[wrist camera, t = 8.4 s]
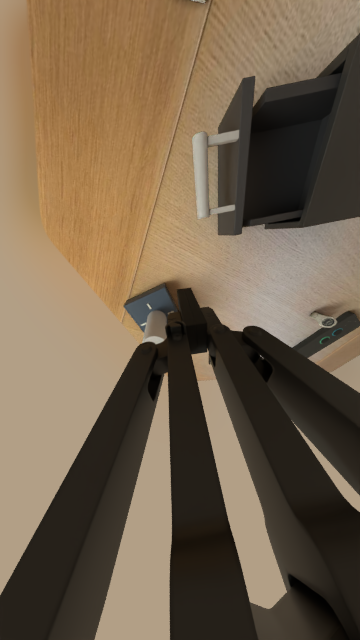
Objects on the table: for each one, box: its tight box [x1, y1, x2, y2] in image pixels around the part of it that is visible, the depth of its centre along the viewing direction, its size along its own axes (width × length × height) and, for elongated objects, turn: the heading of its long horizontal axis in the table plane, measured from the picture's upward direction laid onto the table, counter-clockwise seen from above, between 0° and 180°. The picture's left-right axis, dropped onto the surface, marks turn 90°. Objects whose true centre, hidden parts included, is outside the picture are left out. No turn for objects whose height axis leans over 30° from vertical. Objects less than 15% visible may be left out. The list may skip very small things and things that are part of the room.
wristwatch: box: [310, 312, 337, 328], centre depth 37 cm, size 4×6×5 cm, turn 70°
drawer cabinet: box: [265, 33, 360, 229], centre depth 18 cm, size 16×14×9 cm
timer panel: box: [124, 283, 179, 332], centre depth 32 cm, size 12×10×3 cm
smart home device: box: [292, 311, 360, 358], centre depth 44 cm, size 8×2×20 cm
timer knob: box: [142, 311, 167, 344], centre depth 27 cm, size 4×4×9 cm
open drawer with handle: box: [192, 73, 342, 235], centre depth 18 cm, size 20×12×7 cm, turn 99°
